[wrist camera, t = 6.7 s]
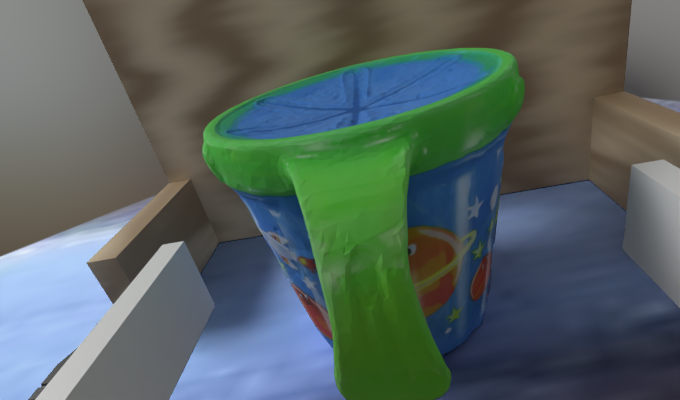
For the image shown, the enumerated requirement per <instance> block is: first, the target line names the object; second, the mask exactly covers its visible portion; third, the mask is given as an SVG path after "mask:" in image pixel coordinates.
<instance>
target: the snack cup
mask: <svg viewBox="0 0 680 400" xmlns="http://www.w3.org/2000/svg"><path fill="white" fill-rule="evenodd" d="M524 92H525V84H524V80H523V78H522V77H520V76H519V69H518V64H517V60H516V58H515V57H514V56H513V55H512V54H510V53H508V52H505V51H503V50H497V49H491V48H454V49H443V50H433V51H425V52H417V53H411V54H405V55H399V56H393V57H388V58H383V59H378V60H374V61H370V62H364V63H360V64H356V65H351V66H347V67H344V68H340V69H336V70H333V71H329V72H325V73H322V74H319V75H316V76H312V77H308V78H305V79H302V80H299V81H296V82H293V83H290V84H287V85H284V86H282V87H279V88H277V89H274V90H271V91H268V92H266V93H263V94H261V95H258V96H256V97H254V98H251V99H249V100H247V101H244V102H242V103H241V104H238V105H236V106H234V107H232V108H230V109H228V110H227V111H225V112H223V113H222V114H220V115H219V116H217V117H216V118H215V119H213V120H212V121H211V122H210V123H209V124H208V125H207V126H206V128H205V130H204V132H203V139H204V143H203V147H202V153H203V157H204V160H205V162H206V164H207V165H208V167H209V168H210V170H211V171H212V172H213V174H214V175H215V176H216V177H217V178H218V179H219V180H220V181H221V182H222V183H225V184H226V185H228V186H229V187H230V188H231V189H233V190H234V191H235V192H236V193H237V194H239V197H240V198H241V199H242V201H243V202H244V203H245V205H246V206H247V207H248V210H249V212H250V213H251V216H252V218H253V219H254V221H255V223H256V225H257V227H258V228H259V230H260V232H261V233H262V234H263V237H264V239H265V241H266V242H267V244H268V245H269V247H270V248H271V249H272V251H273V253H274V254H275V256H276V257H277V260H278V263H279V265H280V267H281V268H282V270H283V272H284V274H285V275H286V277H287V278H288V279H290V282H291V285H292V287H293V289H294V290H295V292H296V294H297V296H298V297H299V299H300V301H301V302H302V304H303V306H304V308H305V309H306V311H307V313H308V314H309V316H310V318H311V319H312V321H313V322H314V324H315V326H316V327H317V329H318V330H319V332H320V333H321V334H322V335H323V337H324V338H325V339H326V340H327V342H328V343H329V344H330V346H331V347H332V348H333V350H334V365H335V367H334V376H335V381H336V385H337V388H338V390H339V391H340V393H341V394H342V395H343V396H344V398H345V399H346V400H434V399H437V398H439V397H441V396H443V395H444V394H445V392H446V391H447V390H448V389H449V386H450V382H451V372H450V370H449V368H448V367H447V366H446V364H445V361H444V359H443V357H442V355H443V354H445V353H447V352H449V351H451V350H453V349H454V348H456V347H457V346H459V345H460V344H462V343H463V342H464V341H466V340H467V338H468V337H469V335H470V334H471V333H472V331H473V330H474V329H475V328H477V327H479V326H480V325H481V323H482V319H483V316H484V313H485V309H486V304H487V296H488V294H489V289H490V281H491V261H492V249H493V245H494V242H495V234H496V225H497V215H498V206H499V198H500V189H501V181H502V168H503V161H504V153H503V146H504V140H505V137H506V135H507V133H508V130H509V128H510V126H511V124H512V122H513V120H514V118H515V117H516V116H517V114H518V113H519V111H520V109H521V107H522V103H523V100H524Z"/></svg>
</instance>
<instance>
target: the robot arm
mask: <svg viewBox="0 0 680 400" xmlns="http://www.w3.org/2000/svg"><path fill="white" fill-rule="evenodd" d="M622 249H623V250H624V251H625V252H626V253H627V255H628V256H629V257H630V258H631V259H632V260H633V261H634V262H635V263H636V264H637V265H638V266H639V267H640V268H641V269H642V270H643V271H644V272H645V273H646V274H647V275H648V276H649V277H650V278H651V279H652V280H653V281H654V282H655V283H656V284H657V285H658V286H659V287H660V288H661V289H662V290H663V291H664V292H665V293H666V295H667V296H668V297H669V298H670V299H671V300H672V301H673V302H674V303H675V304H676V305H677V306H678V307H679V308H680V169H679V168H678V167H676V166H674V165H672V164H671V163H669V162H667V161H665V160H664V159H663V160H657V161H651V162H645V163H640V164H634V165H631V175H630V184H629V193H628V202H627V211H626V221H625V230H624V239H623V248H622ZM215 306H216V305H215V303H214V301H213V299H212V297H211V295H210V293H209V291H208V289H207V287H206V285H205V283H204V281H203V279H202V277H201V275H200V273H199V271H198V269H197V267H196V265H195V263H194V261H193V258H192V256H191V254H190V252H189V250H188V248H187V246H186V244H185V242H184V241H181V242H175V243H169V244H164V245H162V246H161V247H160V248H159V250H158V251H157V252H156V253H155V254H154V256H153V257H152V258H151V259H150V261H149V262H148V263H147V264H146V265H145V267H144V268H143V269H142V270H141V271H140V273H139V274H138V275H137V276H136V278H135V279H134V280H133V281H132V282H131V284H130V285H129V286H128V287H127V288H126V290H125V291H124V292H123V293H122V295H121V296H120V297H119V298H118V299H117V301H116V302H115V303H114V304H113V306H112V307H111V308H110V309H109V310H108V312H107V313H106V314H105V315H104V316H103V318H102V319H101V320H100V321H99V323H98V324H97V325H96V326H95V327H94V329H93V330H92V331H91V332H90V333H89V335H88V336H87V337H86V338H85V340H84V341H83V342H82V343H81V344H80V346H79V347H78V348H77V349H76V350H74V351H73V352H72V353H71V354H70V355H68V356H67V357H66V358H65V359H64V360H63V361H61V362H60V363H59V364H58V365H57V366H56V367H55V368H54V369H53V371H52V372H51V373H50V374H49V375H48V377H47V378H46V379H45V380H44V381H43V383H42V384H41V385H42V386H41V388H38V389H37V390H36V391H35V392H34V393H33V394H32V396H31V397H30V398H29V399H28V400H169V399H170V396H171V394H172V392H173V390H174V388H175V386H176V384H177V382H178V380H179V378H180V376H181V374H182V372H183V370H184V368H185V366H186V364H187V362H188V360H189V358H190V356H191V354H192V352H193V350H194V348H195V346H196V344H197V342H198V340H199V338H200V336H201V334H202V332H203V330H204V328H205V326H206V324H207V322H208V320H209V318H210V316H211V314H212V312H213V310H214V308H215Z"/></svg>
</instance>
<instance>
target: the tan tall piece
mask: <svg viewBox="0 0 680 400" xmlns="http://www.w3.org/2000/svg"><path fill="white" fill-rule="evenodd" d="M83 2H84V4H85V6H86V8H87V10H88V13H89V15H90V16H91V19H92V21H93V23H94V25H95V27H96V29H97V31H98V34H99V36H100V38H101V40H102V42H103V44H104V46H105V48H106V50H107V53H108V55H109V57H110V59H111V61H112V63H113V65H114V67H115V69H116V71H117V74H118V76H119V78H120V80H121V82H122V84H123V86H124V88H125V90H126V93H127V94H128V96H129V99H130V101H131V103H132V105H133V107H134V109H135V111H136V114H137V116H138V117H139V120H140V122H141V124H142V126H143V128H144V130H145V133H146V135H147V137H148V139H149V141H150V143H151V145H152V147H153V149H154V151H155V154H156V156H157V158H158V160H159V162H160V164H161V166H162V168H163V170H164V173H165V175H166V176H167V179H168V181H169V184H168V185H167V186H166V187H165V188H164V189H163V190H162V191H161V192H160V193H159V194H158V195H157V196H155V197H154V198H153V199H152V200H151V201H150V202H149V203H148V204H147V205H146V206H145V207H144V208H143V209H142V210H141V211H140V212H139V213H138V214H137V215H136V216H135V217H134V218H133V219H132V220H131V221H130V222H128V223H127V224H126V225H125V226H124V227H123V228H122V229H121V230H120V231H119V232H118V233H117V234H116V235H115V236H114V237H113V238H112V239H111V240H110V241H109V242H108V243H107V244H106V245H105V246H104V247H103V248H101V249H100V250H99V251H98V252H97V253H96V254H95V255H94V256H93V257H92V258H91V259H90V260H89V261H88V262H87V264H88V266H89V267H90V269H91V271H92V272H93V274H94V275H95V277H96V278H97V280H98V281H99V283H100V284H101V286H102V288H103V289H104V291H105V292H106V294H107V295H108V297H109V298H110V300H111V302H112V303H113V304H114V303H115V302H116V301H117V299H118V298H119V297H120V296H121V295H122V293H123V292H124V291H125V290H126V288H127V287H128V286H129V285H130V284H131V282H132V281H133V280H134V279H135V278H136V276H137V275H138V274H139V273H140V271H141V270H142V269H143V268H144V267H145V265H146V264H147V263H148V262H149V261H150V259H151V258H152V257H153V256H154V254H155V253H156V252H157V251H158V250H159V248H160V247H161V246H162V245H164V244H169V243H175V242H181V241H184V242H185V244H186V246H187V248H188V250H189V252H190V254H191V256H192V258H193V261H194V263H195V265H196V267H197V269H198V271H199V273H200V274H201V272H202V271H203V269H204V267H205V266H206V264H207V262H208V261H209V259H210V257H211V256H212V254H213V252H214V251H215V249H216V247H217V245H218V244H219V243H221V242H226V241H232V240H238V239H244V238H250V237H256V236H261V235H263V234H262V233H261V232H260V230H259V228H258V227H257V225H256V223H255V221H254V219H253V218H252V216H251V213H250V212H249V210H248V207H247V206H246V205H245V203H244V202H243V201H242V199H241V198H240V197H239V194H237V193H236V192H235V191H234V190H233V189H231V188H230V187H229V186H228V185H226V184H225V183H222V182H221V181H220V180H219V179H218V178H217V177H216V176H215V175H214V174H213V172H212V171H211V170H210V168H209V167H208V165H207V164H206V162H205V160H204V157H203V153H202V147H203V143H204V139H203V132H204V130H205V128H206V126H207V125H208V124H209V123H210V122H211V121H212V120H213V119H215V118H216V117H217V116H219V115H220V114H222V113H223V112H225V111H227V110H228V109H230V108H232V107H234V106H236V105H238V104H241V103H242V102H244V101H247V100H249V99H251V98H254V97H256V96H258V95H261V94H263V93H266V92H268V91H271V90H274V89H277V88H279V87H282V86H284V85H287V84H290V83H293V82H296V81H299V80H302V79H305V78H308V77H312V76H316V75H319V74H322V73H325V72H329V71H333V70H336V69H340V68H344V67H347V66H351V65H356V64H360V63H364V62H370V61H374V60H378V59H383V58H388V57H393V56H399V55H405V54H411V53H417V52H425V51H433V50H443V49H454V48H491V49H497V50H503V51H505V52H508V53H510V54H512V55H513V56H514V57H515V58H516V60H517V64H518V69H519V76H520V77H522V78H523V80H524V84H525V92H524V100H523V103H522V107H521V109H520V111H519V113H518V114H517V116H516V117H515V118H514V120H513V122H512V124H511V126H510V128H509V130H508V133H507V135H506V137H505V140H504V146H503V153H504V161H503V168H502V181H501V189H500V195H501V194H507V193H513V192H519V191H525V190H530V189H536V188H542V187H548V186H554V185H560V184H565V183H571V182H577V181H583V180H590V181H591V182H593V183H594V184H595V185H596V186H597V187H598V188H600V189H601V190H602V191H603V192H604V193H606V194H607V195H608V196H609V197H610V198H611V199H613V200H614V201H615V202H616V203H617V204H619V205H620V206H621V207H622V208H623V209H624V210H626V211H627V202H628V193H629V184H630V175H631V165H634V164H640V163H645V162H651V161H657V160H663V159H664V160H665V161H667V162H669V163H671V164H672V165H674V166H676V167H678V168H679V169H680V113H678V112H676V111H673V110H671V109H668V108H665V107H663V106H660V105H658V104H655V103H653V102H650V101H647V100H645V99H642V98H640V97H637V96H634V95H632V94H629V93H627V92H624V81H625V70H626V60H627V49H628V36H629V25H630V15H631V4H632V0H83Z"/></svg>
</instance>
